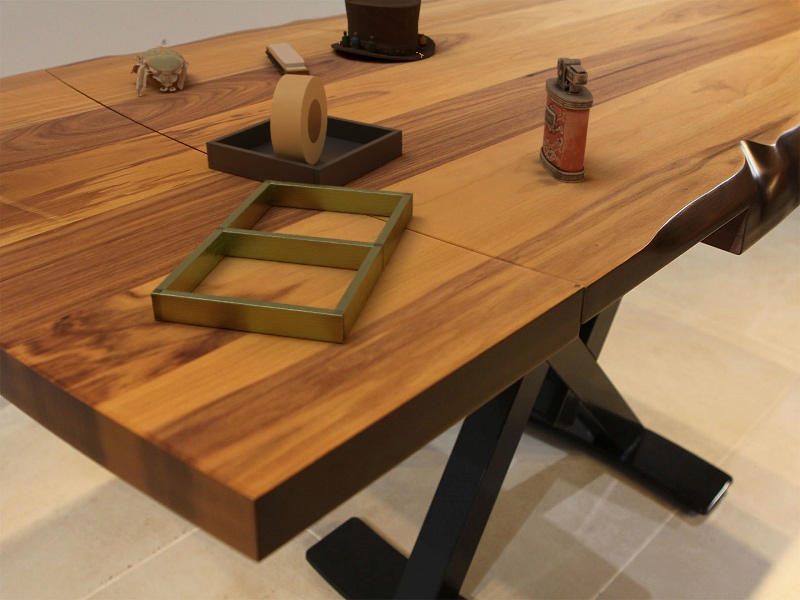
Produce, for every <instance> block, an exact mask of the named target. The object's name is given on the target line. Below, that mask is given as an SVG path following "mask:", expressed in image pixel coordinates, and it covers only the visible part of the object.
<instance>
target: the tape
mask: <svg viewBox="0 0 800 600" xmlns="http://www.w3.org/2000/svg"><path fill="white" fill-rule="evenodd" d="M327 115H328V101H327V93H326V89H325V86H324V83H323V81H322V79H321V78H320V77H319V76H317V75H309V76H307V75H292V74H286V75H284V76H283V75H282V76H281V77H280V78H279V80H278V81H277V84H276V86H275V89H274V92H273V95H272V100H271V106H270V117H269V118H270V129H271V140H272V145H273V149H274V152H275V155H276V157H280V158H284V159H288V160H292V161H296V162H300V163H305V164H309V165H314V164H315V163H316V162H317V161H318V159H319V158H320V155H321V153H322V150H323V147H324V142H325V137H326V130H327Z"/></svg>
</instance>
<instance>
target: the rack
mask: <svg viewBox="0 0 800 600" xmlns="http://www.w3.org/2000/svg"><path fill="white" fill-rule="evenodd" d="M273 206H276V207H285V208H298V209H306V210H319V211H328V212H339V213H349V214H360V215H370V216H380V217H388V220H387V221H386V222H385V224H384V226H383V228H382V229H381V231H380V233H379V234H378V236H377V238H376V239H375V241H374V242H371V241H361V240H352V239H340V238H331V237H321V236H311V235H300V234H293V233H281V232H272V231H262V230H251V229H252V228H253V227H254V225H255V224H256V223H257V222H258V221H259V220H260V219H261V218H262V217H263V216H264V215H265V213H267V212H268V210H270V209H271V207H273ZM413 206H414V194H413V192H403V191H392V190H380V189H370V188H358V187H348V186H347V187H346V186H340V187H337V186H326V185H315V184H304V183H292V182H281V181H271V180H265V181H264V182H262V183H261V184H260V185H259V186H258V187H257V188H256V189H255V190H254V191H253V192H252V193H251V194H250V195H249V196H248V197H247V198H246V199H245V200H244V201H243V202H241V204H240V205H238V207H236V209H235V210H233V212H231V213H230V214H229V215H228V216H227V217H226V218H225V220H223V221H222V222H221V223H220V224H219V225H218V226H217V227H216V228H215V229H214V230H213V231H212V232H211V233H210V234H209V235H208V236H207V237H206V238H205V239H204V240H203V241H202V242H201V243H200V244H199V245H198V246H197V247H195V249H193V251H192V252H191V253H190V254H189V255H187V257H186V258H185V259H183V260H182V261H181V262H180V264H178V266H176V267H175V268H174V269H173V271H171V273H169V274H168V275H167V276H166V277H165V278H164V279H163V280H162V281H161V282H160V283H159V284H158V285H157V286H156V287H155V288H154V289H153V290H152V291H151V292H150V299H151V305H152V311H153V313H152V314H153V318H154V321H159V322H160V321H162V322H169V323H171V322H172V323H179V324H187V325H195V326H201V327H211V328H218V329H227V330H233V331H242V332H249V333H250V332H251V333H258V334H267V335H272V336H273V335H274V336H282V337H289V338H297V339H305V340H314V341H322V342H331V343H335V344H344V342H345V340H346V338H347V336H348V335H349V333H350V331H351V329H352V327H353V326H354V324H355V322H356V321H357V318H358V316H359V315H360V313H361V312H362V309H363V307H364V305H365V303H366V302H367V300H368V298H369V296H370V294H371V292H372V290H373V289H374V287H375V285H376V283H377V281H378V279H379V278H380V276H381V274H382V272H383V270H384V268H385V267H386V264H387V263H388V261H389V259H390V257H391V255H392V254H393V252H394V251H395V248H396V247H397V245H398V242H399V241H400V239H401V238H402V235H403V234H404V232H405V230H406V228H407V226H408V224H409V223H410V221H411V219H412V217H413V212H414V211H413V210H414V209H413V208H414V207H413ZM225 256H226V257H228V256H229V257H237V258H244V259H245V258H247V259H253V260H254V259H255V260H265V261H274V262H284V263H291V264H292V263H293V264H301V265H311V266H318V267H319V266H320V267H329V268H336V269H337V268H338V269H339V268H340V269H347V270H348V269H349V270H355V271H356V270H357V271H356V273H355V275H354V276H353V278H352V279H351V281H350V283H349V285H348V286H347V288H346V290H345V292H344V293H343V295H342V296H341V298H340V300H339V301H338V303H337V305H336V306H335V308H334V309H332V308H325V307H315V306H308V305H307V306H306V305H298V304H289V303H283V302H274V301H273V302H272V301H264V300H256V299H249V298H238V297H230V296H223V295H222V296H221V295H215V294H214V295H213V294H207V293H197V292H193V291H194V289H195V288H196V287H198V286H199V284H200V283H201V282H202V281H203V280H205V278H206V277H207V276H208V274H210V273H211V272H212V270H213V269H214V268H215V267H216V266H217V265H218V264H219V263H220V262H221V261H222V260H223V259H224V258H225Z"/></svg>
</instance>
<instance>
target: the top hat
mask: <svg viewBox="0 0 800 600" xmlns="http://www.w3.org/2000/svg"><path fill="white" fill-rule="evenodd" d="M421 6H422V0H344V7H345V15H346V20H347V30H343V32H342V34H343V35H342V36H341V40H340V41H339V42H335V43H332V44H330V48H332V49H334V50H338V51H342V52H346V53H350V54H356V55H360V56H361V55H362V56H367V57H373V58H381V59H388V60H397V61H419V60H420V61H421V60H424V59H427V58H429V57H431V56H432V55H433V54H434V53H435V51H436V43H435V40H434V39H432V38H431V37H430V36H427V35H426V34H424V33H419V22H420V21H419V20H420V13H421ZM339 43H340V44H339ZM416 52H418V53H416ZM419 53H421V54H423V55H424V56H422V58H421V55H420V54H419Z"/></svg>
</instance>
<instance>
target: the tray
mask: <svg viewBox="0 0 800 600" xmlns="http://www.w3.org/2000/svg"><path fill="white" fill-rule="evenodd" d="M270 118H271V117H269V118H267V119H265V120H262V121H259V122H256V123H254V124H251V125H248V126H245V127H243V128H241V129H238V130H235V131H232V132H230V133H227V134H225V135H222V136H219V137H216V138H214V139H211V140H208V141H206V142H205V147H206V157H207V167H208V169H212V170H216V171H219V172H223V173H227V174H231V175H235V176H238V177H243V178H246V179H250V180H254V181H258V182H262V183H263V182H264V181H265V180H271V181H281V182H292V183H304V184H315V185H326V186H337V187H343V186H344V185H346V184H348V183H350V182H352V181H354V180H356V179H358V178H360V177H362V176H363V175H366V174H368V173H370V172H371V171H373V170H376V169H378V168H380V167H381V166H383V165H386V164H387V163H389V162H391V161H393V160H395V159H397V158H399V157H401V156H402V155H403V130H402V129H397V128H393V127H387V126H383V125H378V124H372V123H367V122H363V121H358V120H353V119H348V118H343V117H339V116H333V115H328V114H327V130H326V137H325V142H324V147H323V150H322V153H321V155H320V158H319V159H318V161H317V162H316V163H315V164H314V165H309V164H305V163H300V162H296V161H292V160H288V159H284V158H280V157H276V155H275V152H274V149H273V145H272V140H271V129H270Z"/></svg>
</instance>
